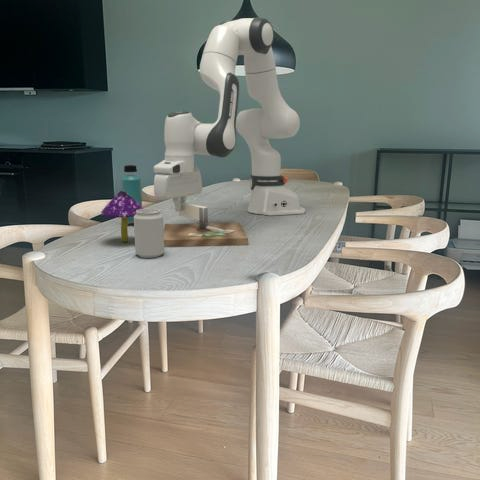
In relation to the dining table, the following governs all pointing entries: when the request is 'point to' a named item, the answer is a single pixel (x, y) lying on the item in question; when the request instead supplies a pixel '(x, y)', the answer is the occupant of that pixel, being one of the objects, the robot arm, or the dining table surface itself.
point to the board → (204, 235)
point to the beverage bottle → (132, 186)
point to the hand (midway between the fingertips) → (179, 210)
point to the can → (149, 233)
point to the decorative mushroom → (122, 210)
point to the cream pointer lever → (198, 215)
